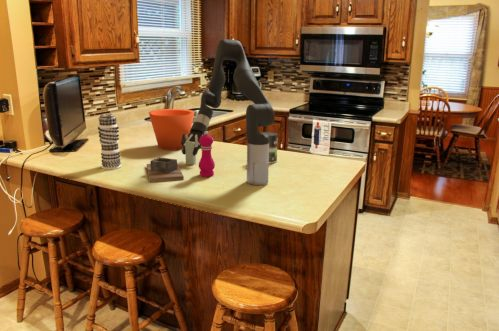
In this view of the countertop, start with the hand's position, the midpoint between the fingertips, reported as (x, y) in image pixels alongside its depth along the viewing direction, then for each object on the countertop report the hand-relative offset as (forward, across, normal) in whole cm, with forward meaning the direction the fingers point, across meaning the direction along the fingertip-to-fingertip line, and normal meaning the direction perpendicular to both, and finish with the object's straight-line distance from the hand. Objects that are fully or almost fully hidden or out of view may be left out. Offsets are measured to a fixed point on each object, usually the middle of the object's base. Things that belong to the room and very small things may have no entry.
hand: (188, 154), depth 203 cm
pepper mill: (+12, +16, -4) cm, 20 cm away
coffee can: (-12, +32, +20) cm, 40 cm away
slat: (+3, 0, +5) cm, 6 cm away
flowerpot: (-16, -28, +24) cm, 40 cm away
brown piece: (+15, -3, -8) cm, 18 cm away
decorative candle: (+17, -31, -9) cm, 37 cm away
